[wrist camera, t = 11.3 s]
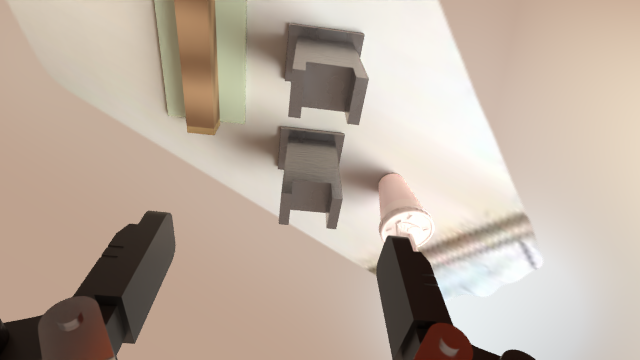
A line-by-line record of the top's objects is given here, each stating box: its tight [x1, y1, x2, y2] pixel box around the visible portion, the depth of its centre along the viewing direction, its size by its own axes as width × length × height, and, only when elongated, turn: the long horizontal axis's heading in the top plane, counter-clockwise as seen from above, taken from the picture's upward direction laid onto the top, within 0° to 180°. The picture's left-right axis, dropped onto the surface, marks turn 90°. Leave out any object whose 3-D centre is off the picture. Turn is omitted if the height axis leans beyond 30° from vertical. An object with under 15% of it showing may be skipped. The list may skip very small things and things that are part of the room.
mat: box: [154, 0, 247, 124], centre depth 37 cm, size 16×9×1 cm, turn 172°
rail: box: [174, 0, 220, 135], centre depth 36 cm, size 17×3×3 cm, turn 173°
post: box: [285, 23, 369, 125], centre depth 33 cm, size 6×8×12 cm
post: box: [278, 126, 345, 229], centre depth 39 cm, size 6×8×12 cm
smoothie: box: [378, 173, 434, 252], centre depth 42 cm, size 6×6×14 cm
